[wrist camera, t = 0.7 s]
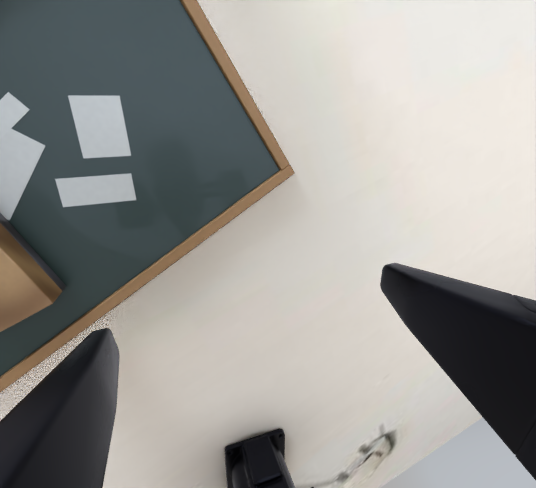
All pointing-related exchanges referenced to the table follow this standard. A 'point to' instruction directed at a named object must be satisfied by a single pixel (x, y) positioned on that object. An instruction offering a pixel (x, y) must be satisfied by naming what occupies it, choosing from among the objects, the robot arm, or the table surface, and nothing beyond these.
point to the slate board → (118, 151)
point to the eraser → (23, 278)
